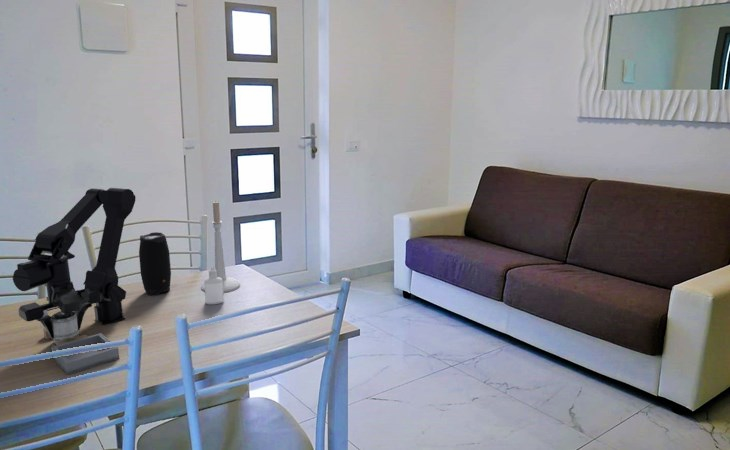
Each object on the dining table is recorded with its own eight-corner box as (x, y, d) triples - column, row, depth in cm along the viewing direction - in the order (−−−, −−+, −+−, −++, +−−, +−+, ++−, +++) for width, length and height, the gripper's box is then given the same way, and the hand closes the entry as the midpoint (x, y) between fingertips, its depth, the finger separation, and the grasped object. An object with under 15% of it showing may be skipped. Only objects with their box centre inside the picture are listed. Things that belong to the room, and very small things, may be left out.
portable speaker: (174, 293, 185) (169, 236, 181) (144, 298, 181) (139, 240, 176) (169, 285, 193) (165, 230, 188) (140, 290, 188) (135, 233, 184)
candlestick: (240, 291, 187) (235, 203, 180) (200, 294, 184) (194, 205, 177) (239, 279, 199) (235, 196, 192) (202, 281, 196) (196, 198, 189)
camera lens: (59, 348, 146) (55, 320, 144) (48, 341, 149) (44, 314, 148) (83, 339, 151) (80, 312, 149) (72, 333, 154) (69, 307, 152)
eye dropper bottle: (219, 305, 175) (217, 269, 172) (203, 304, 176) (200, 268, 173) (226, 300, 179) (223, 265, 176) (210, 299, 180) (207, 263, 177)
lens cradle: (72, 329, 157) (71, 321, 157) (89, 345, 147) (87, 336, 147) (44, 336, 153) (43, 328, 152) (60, 354, 143) (58, 345, 142)
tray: (102, 343, 149) (101, 332, 148) (119, 358, 140) (118, 347, 140) (52, 357, 141) (51, 346, 140) (67, 375, 132) (66, 363, 132)
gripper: (30, 295, 134) (39, 355, 138) (107, 276, 148) (113, 331, 151) (13, 285, 141) (22, 342, 145) (88, 267, 155) (95, 320, 158)
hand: (65, 333), depth 149 cm, fingers closed on camera lens, 6 cm apart
